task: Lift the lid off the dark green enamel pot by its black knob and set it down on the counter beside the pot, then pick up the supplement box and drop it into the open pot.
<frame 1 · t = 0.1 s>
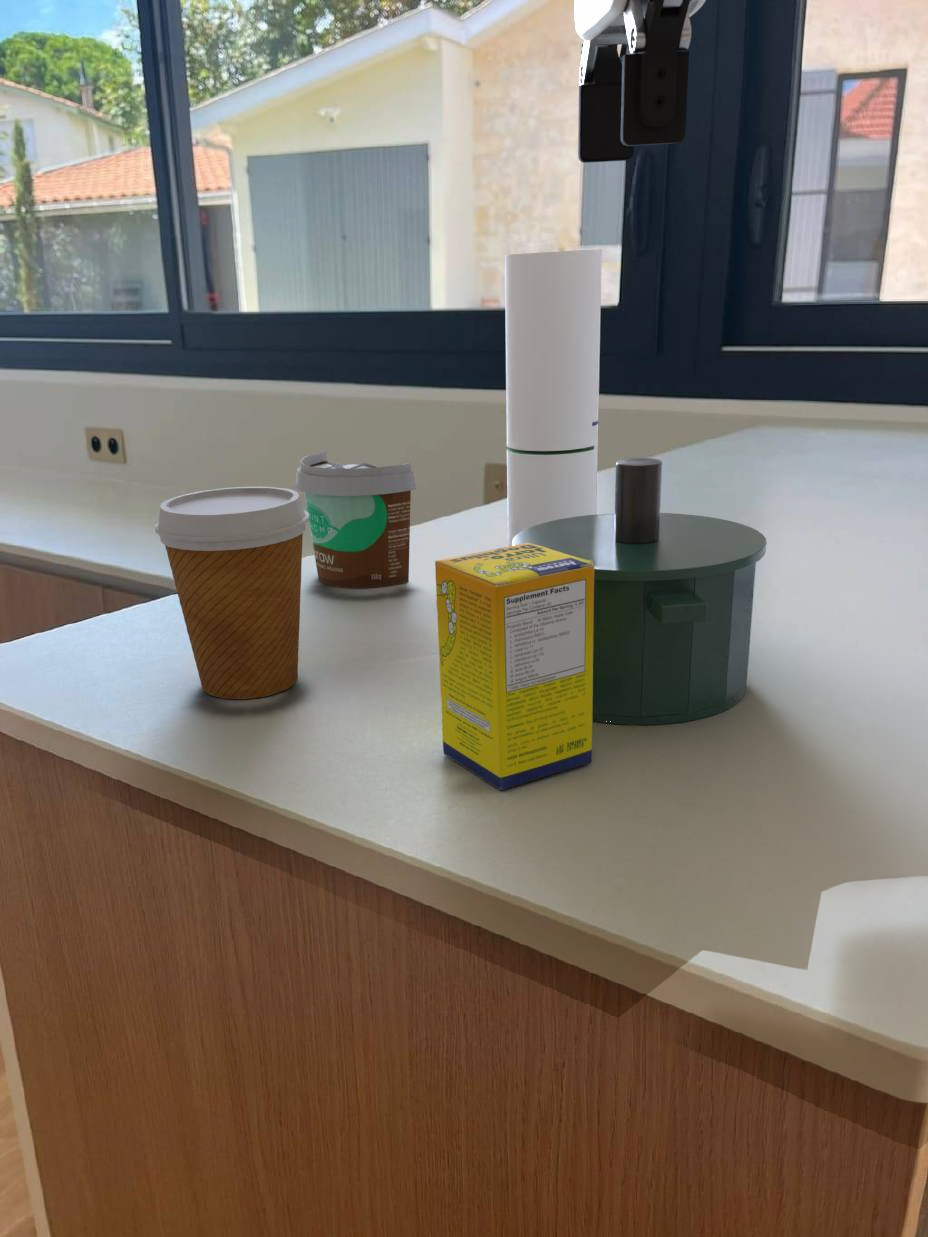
hand: (627, 153, 61), 30 cm above the worktop, tool pointing down, fingers open, 9 cm apart
disposable coffee cup: (250, 685, 73), on the worktop
supplement box: (515, 762, 59), on the worktop
lid: (636, 548, 66), point 8 cm above the worktop, touching pot
pot: (631, 682, 69), on the worktop
food container: (346, 582, 95), on the worktop
cylindrical container: (551, 581, 92), on the worktop
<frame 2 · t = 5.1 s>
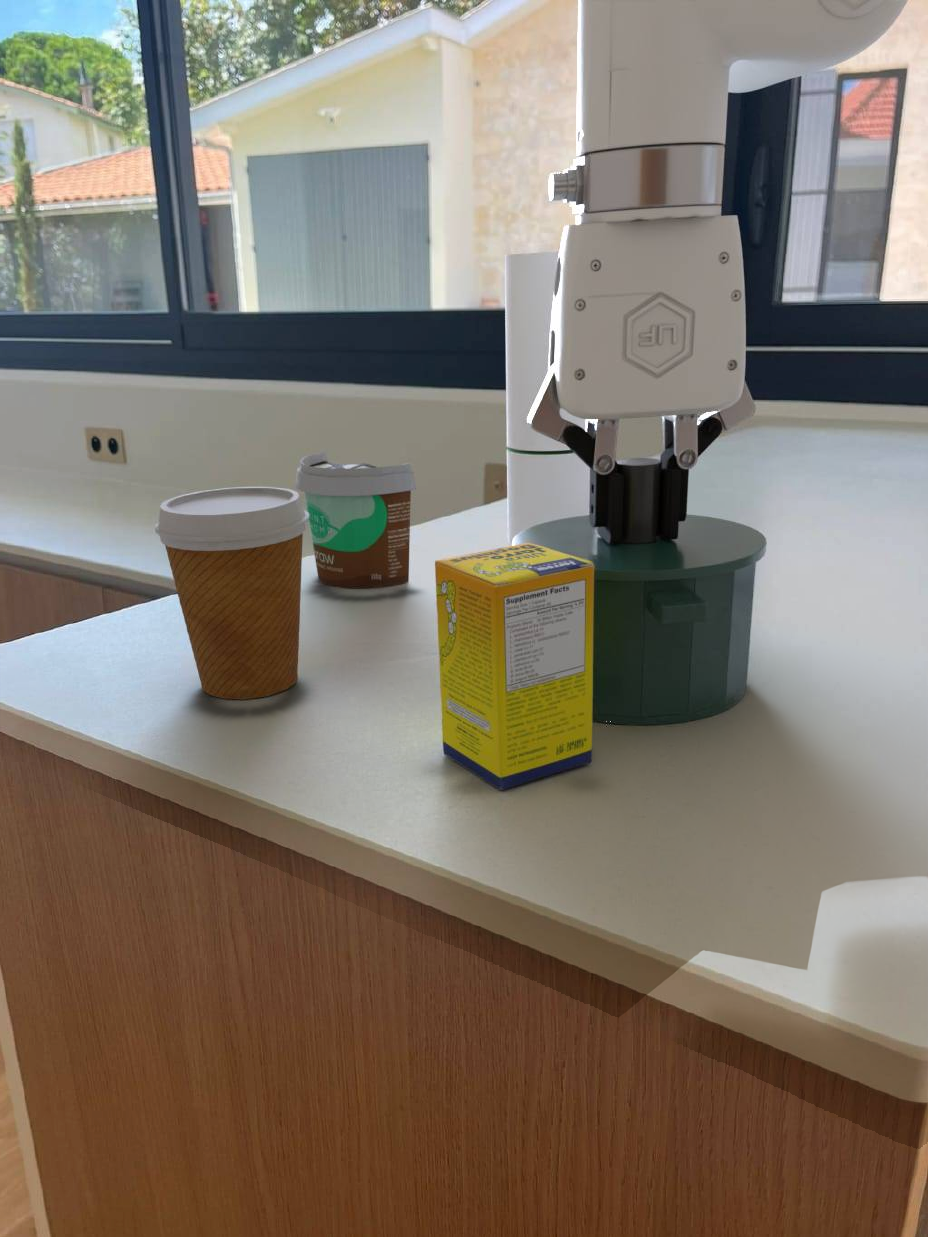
hand: (636, 533, 65), 9 cm above the worktop, tool pointing down, fingers closed on lid, 2 cm apart
lid: (636, 548, 66), point 9 cm above the worktop, touching gripper, pot
everything else where it was.
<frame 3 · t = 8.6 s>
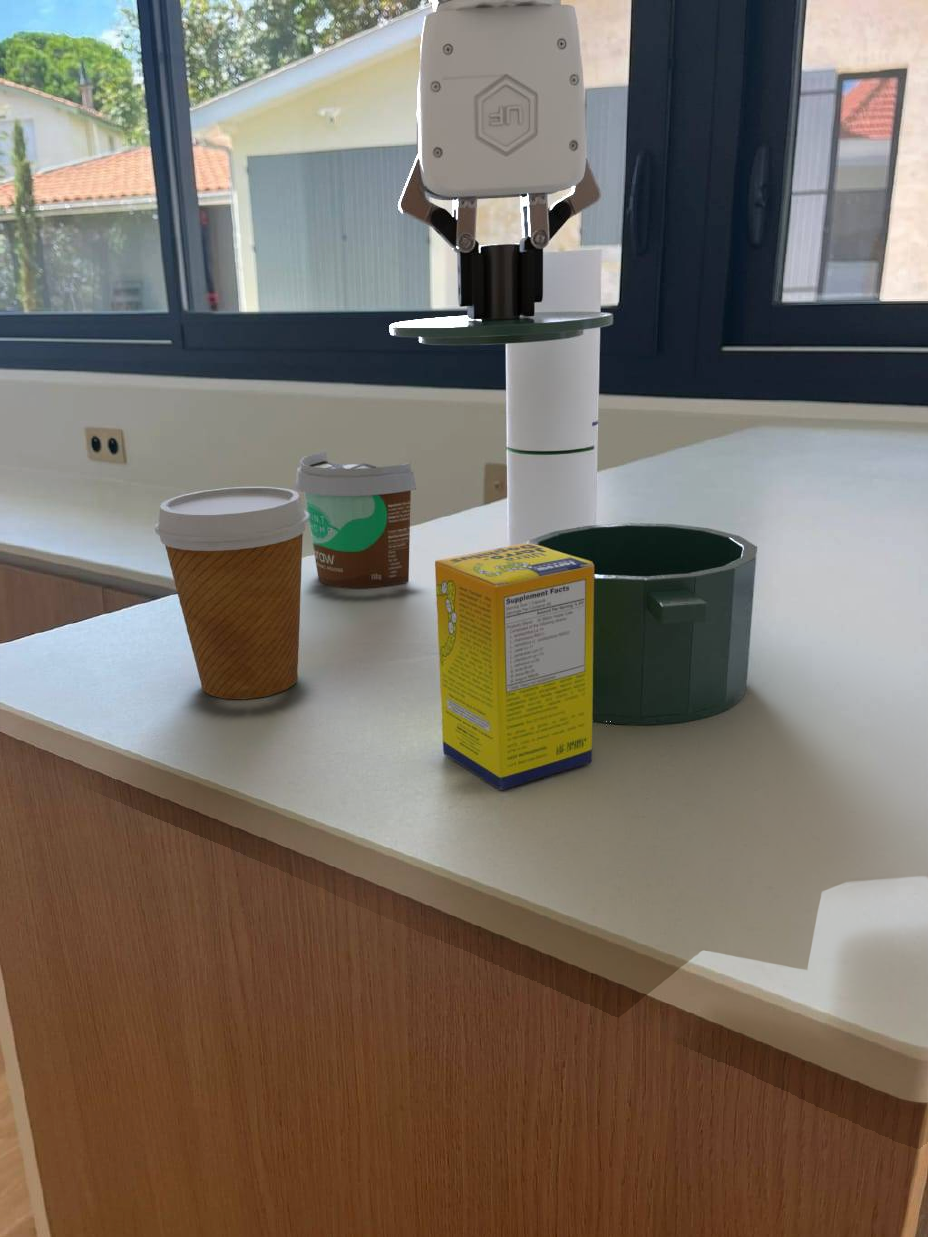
hand: (500, 314, 73), 21 cm above the worktop, tool pointing down, fingers closed on lid, 2 cm apart
lid: (500, 328, 73), point 21 cm above the worktop, touching gripper
everything else where it was.
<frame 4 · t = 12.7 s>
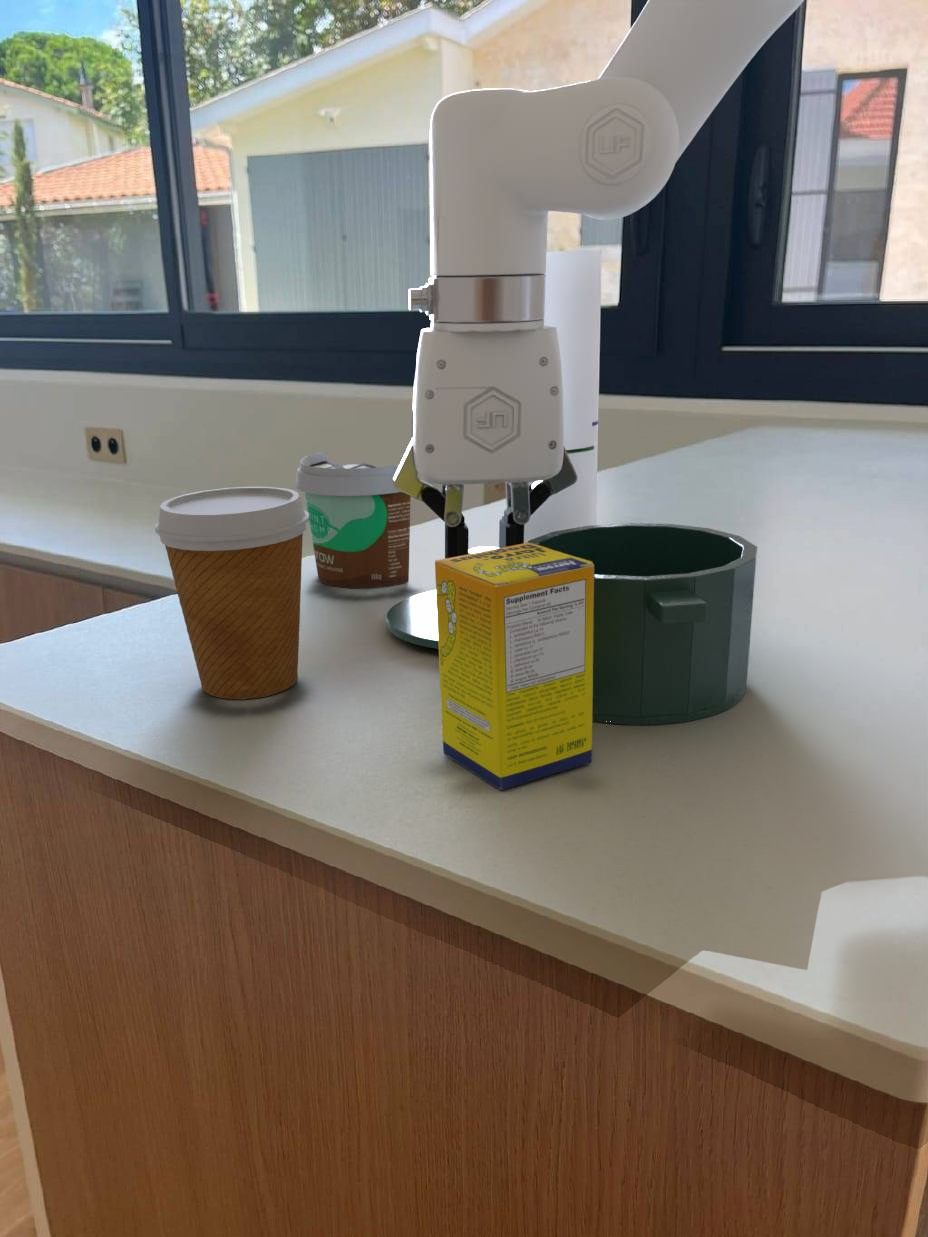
hand: (483, 574, 80), 4 cm above the worktop, tool pointing down, fingers closed on lid, 2 cm apart
lid: (486, 619, 81), point 1 cm above the worktop, touching gripper
everything else where it was.
when the fingers open (4 cm above the worktop, at t = 12.7 s): lid stays where it is, point 1 cm above the worktop.
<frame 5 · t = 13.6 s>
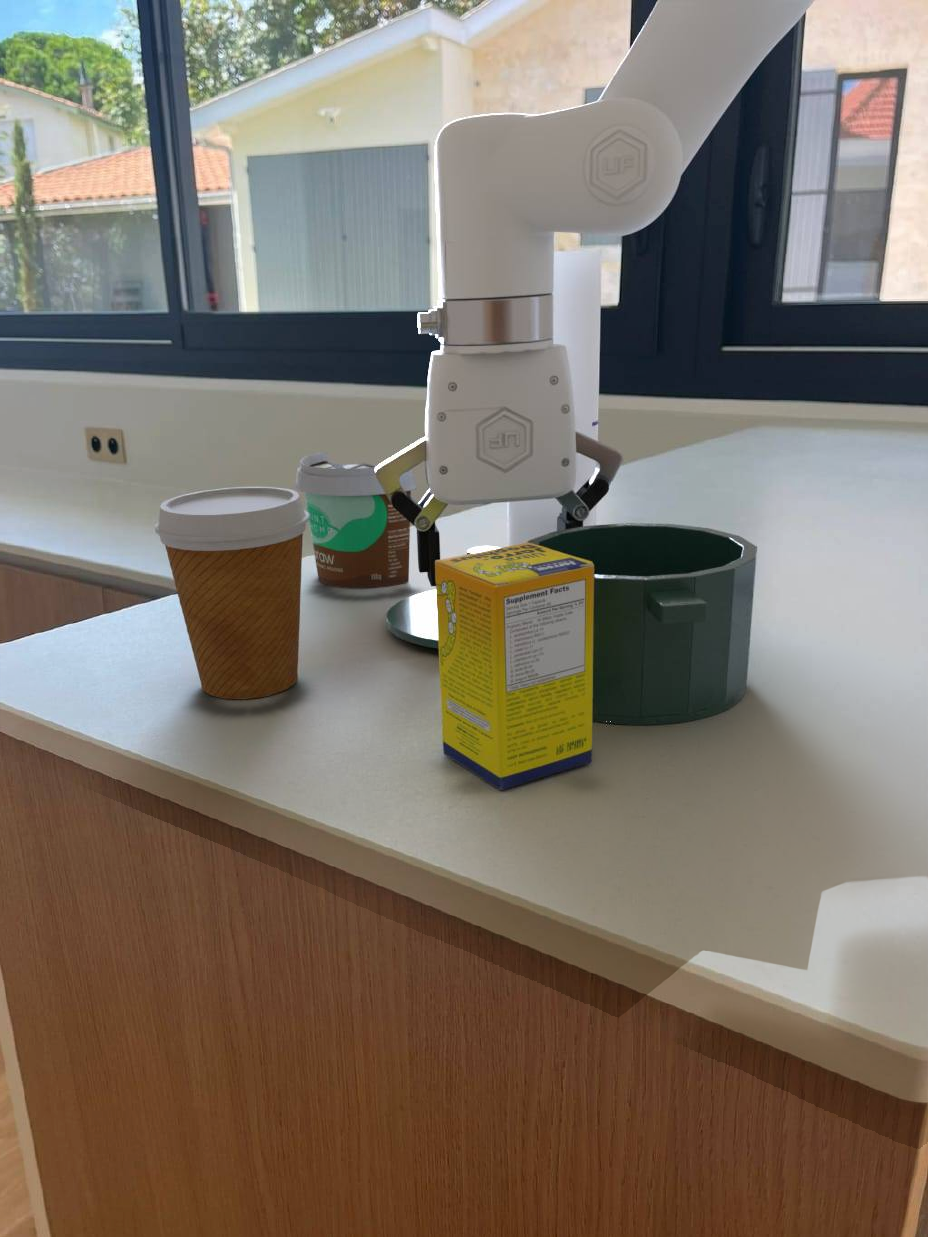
hand: (500, 576, 80), 4 cm above the worktop, tool pointing down, fingers open, 9 cm apart
lid: (486, 618, 81), point 1 cm above the worktop
everything else where it was.
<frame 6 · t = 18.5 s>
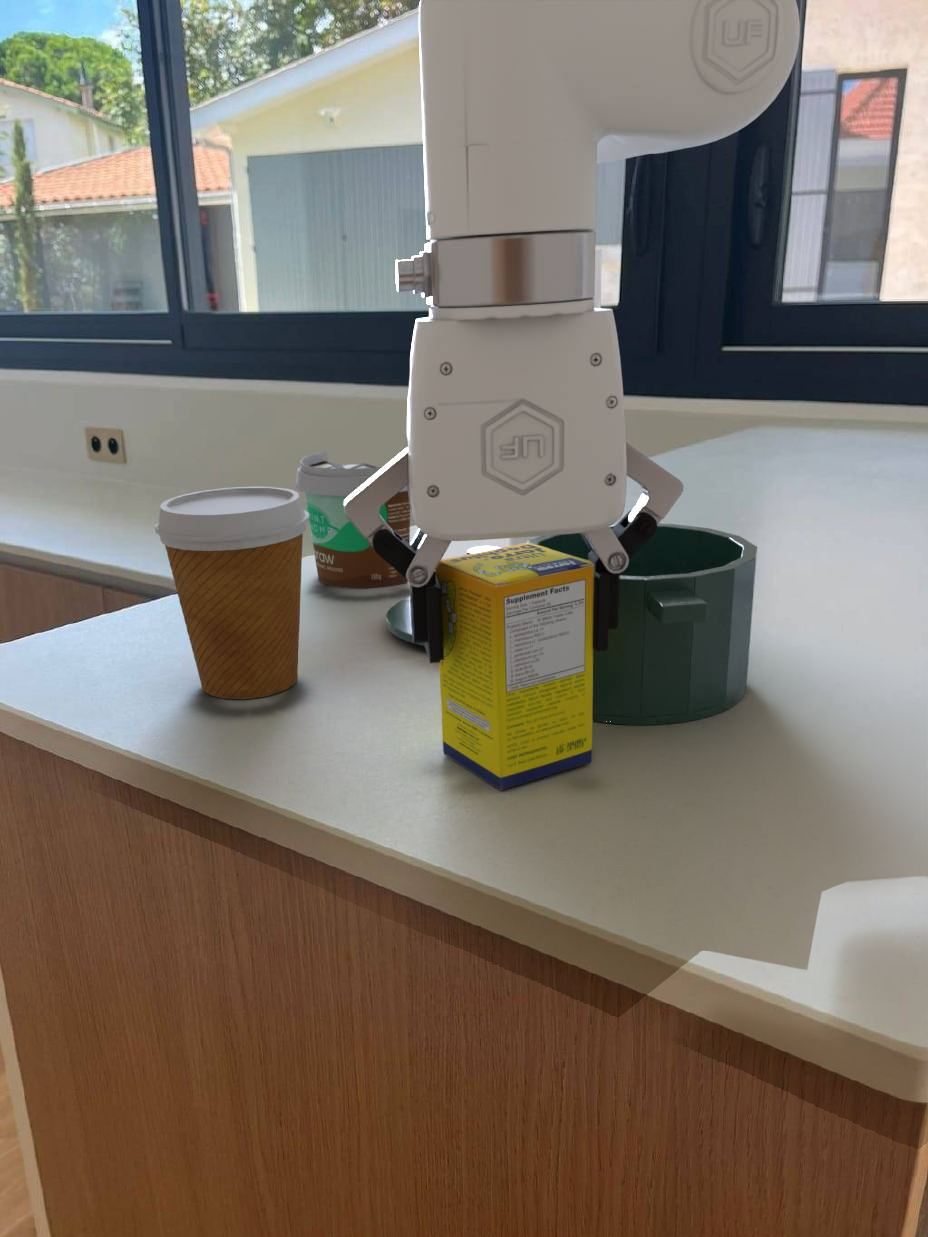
hand: (514, 647, 57), 6 cm above the worktop, tool pointing down, fingers closed on supplement box, 7 cm apart
supplement box: (515, 762, 59), on the worktop, touching gripper
everything else where it was.
when the fingers open (7 cm above the worktop, at t = 26.4 s): supplement box stays where it is, resting on pot.
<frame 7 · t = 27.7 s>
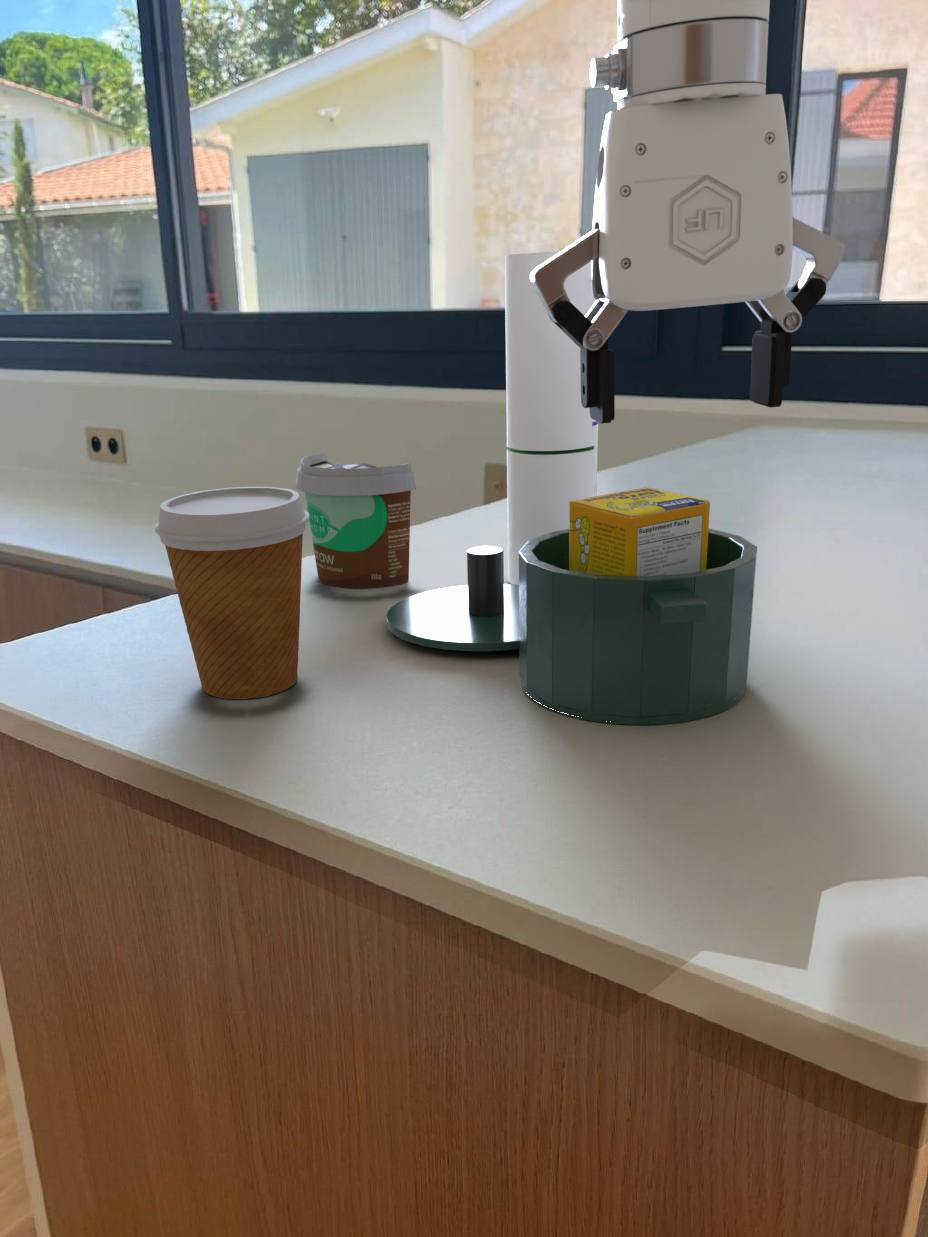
hand: (683, 412, 64), 16 cm above the worktop, tool pointing down, fingers open, 9 cm apart
supplement box: (632, 678, 69), resting on pot
everything else where it was.
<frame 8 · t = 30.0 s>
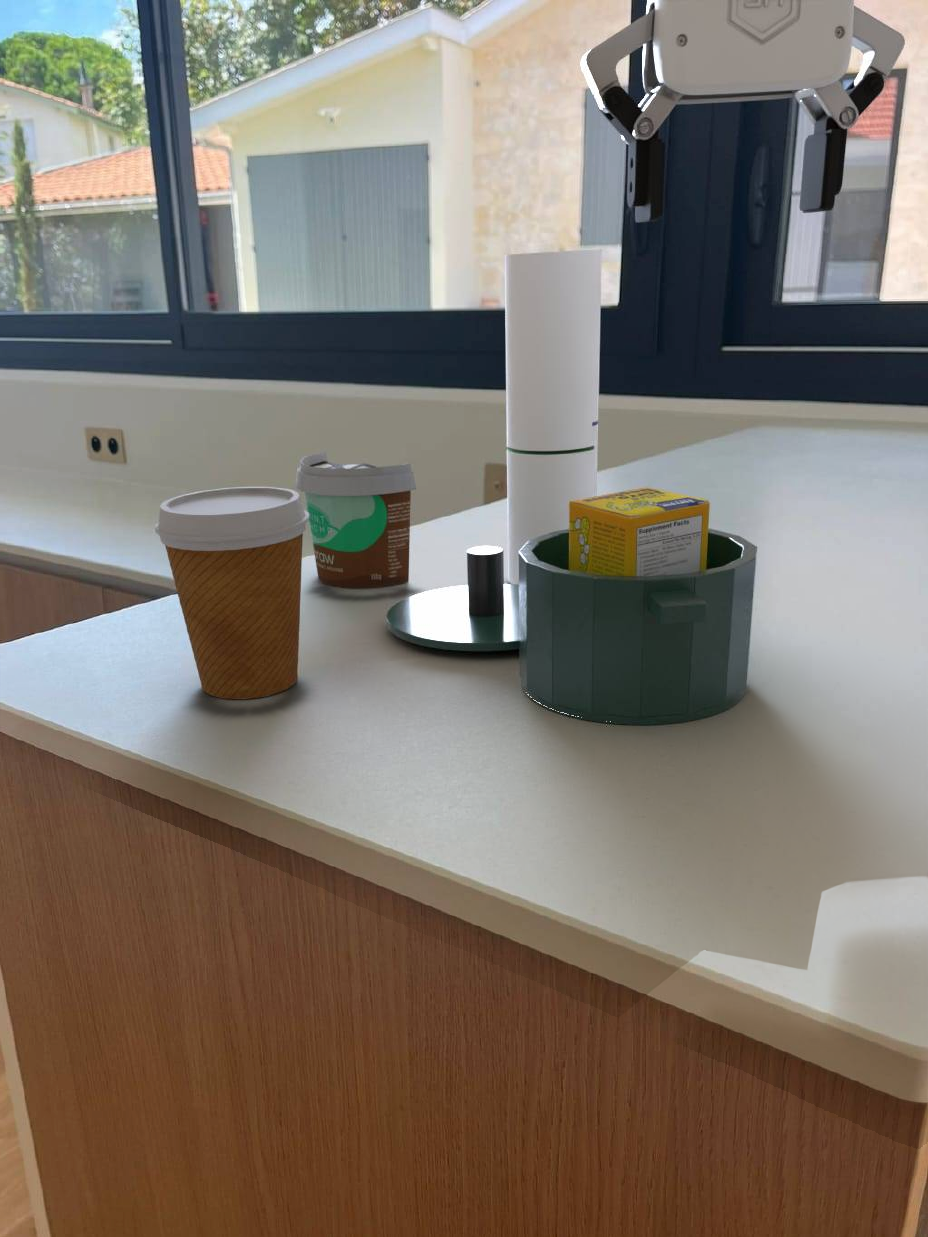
hand: (732, 216, 63), 26 cm above the worktop, tool pointing down, fingers open, 9 cm apart
nothing on the worktop moved.
at the end: lid inside the target area (1.3 cm from its centre), point 0.6 cm above the worktop; supplement box inside the target area in the pot (0.1 cm from its centre), point 0.3 cm above the pot's base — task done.
